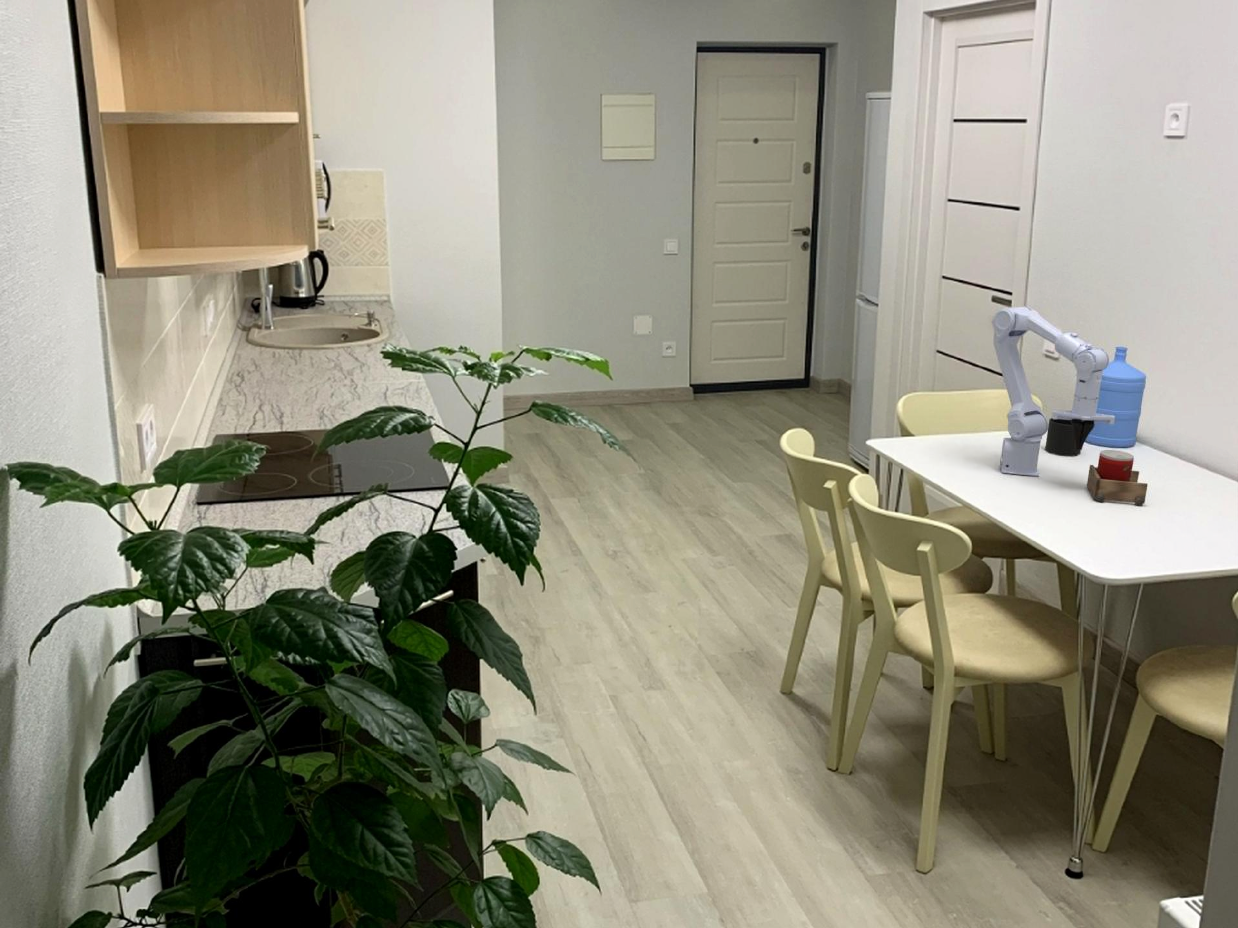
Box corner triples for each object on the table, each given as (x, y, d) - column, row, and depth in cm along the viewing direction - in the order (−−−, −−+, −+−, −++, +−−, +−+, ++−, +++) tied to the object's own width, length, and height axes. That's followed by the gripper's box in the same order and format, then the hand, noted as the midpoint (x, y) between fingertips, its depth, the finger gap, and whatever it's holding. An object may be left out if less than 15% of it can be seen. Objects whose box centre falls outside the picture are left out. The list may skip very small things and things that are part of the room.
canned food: (1124, 502, 295) (1131, 460, 292) (1090, 496, 299) (1097, 454, 296) (1129, 495, 302) (1136, 453, 298) (1096, 489, 306) (1103, 447, 302)
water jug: (1144, 449, 345) (1160, 354, 337) (1090, 447, 345) (1104, 352, 337) (1123, 435, 360) (1137, 343, 352) (1071, 433, 360) (1084, 341, 352)
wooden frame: (1094, 501, 295) (1097, 478, 293) (1086, 485, 308) (1089, 463, 306) (1144, 506, 293) (1148, 483, 291) (1134, 490, 305) (1138, 468, 304)
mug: (1068, 445, 346) (1072, 415, 344) (1085, 457, 335) (1090, 425, 332) (1036, 444, 346) (1040, 414, 343) (1052, 456, 334) (1057, 425, 332)
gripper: (1057, 397, 297) (1050, 449, 301) (1119, 402, 294) (1110, 455, 298) (1054, 391, 304) (1047, 442, 308) (1115, 396, 301) (1106, 448, 305)
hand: (1078, 448), depth 303 cm, fingers closed
